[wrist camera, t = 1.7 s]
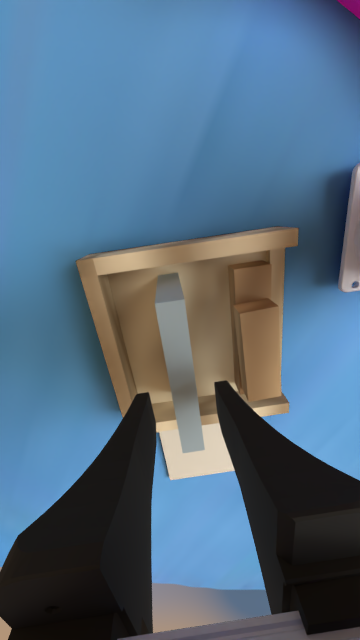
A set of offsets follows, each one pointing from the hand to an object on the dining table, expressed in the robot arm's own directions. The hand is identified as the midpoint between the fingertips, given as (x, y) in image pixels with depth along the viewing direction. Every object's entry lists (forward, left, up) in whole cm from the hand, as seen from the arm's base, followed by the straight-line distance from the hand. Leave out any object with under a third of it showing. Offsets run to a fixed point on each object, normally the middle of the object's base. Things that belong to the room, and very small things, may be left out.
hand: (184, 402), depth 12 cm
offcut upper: (-5, +1, -6) cm, 8 cm away
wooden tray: (-2, 0, -8) cm, 8 cm away
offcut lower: (-5, 0, -7) cm, 9 cm away
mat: (-1, +12, -8) cm, 15 cm away
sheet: (0, 0, -7) cm, 7 cm away
